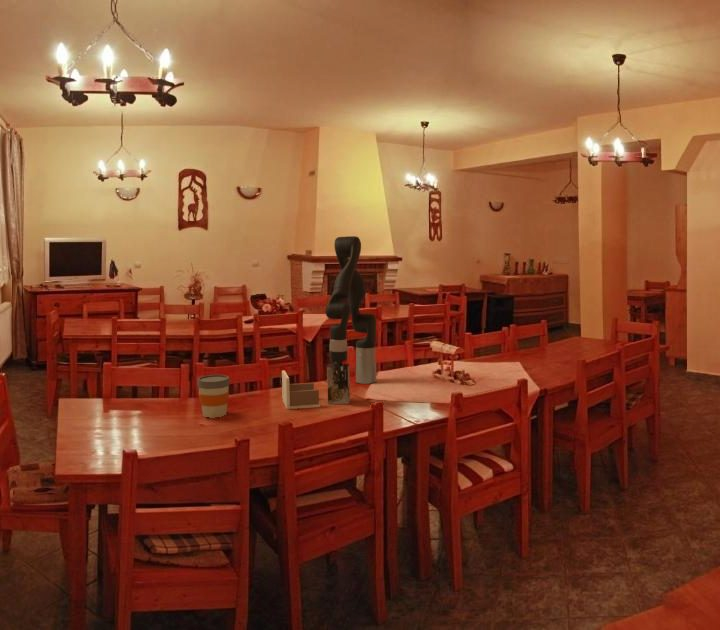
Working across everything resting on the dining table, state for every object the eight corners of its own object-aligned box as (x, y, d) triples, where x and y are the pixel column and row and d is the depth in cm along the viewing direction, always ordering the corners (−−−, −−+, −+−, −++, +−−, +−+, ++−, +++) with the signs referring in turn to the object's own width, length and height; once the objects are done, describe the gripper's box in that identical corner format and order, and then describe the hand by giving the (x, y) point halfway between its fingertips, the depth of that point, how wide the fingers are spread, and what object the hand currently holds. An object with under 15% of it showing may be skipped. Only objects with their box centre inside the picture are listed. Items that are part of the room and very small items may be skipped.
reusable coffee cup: (217, 408, 263) (216, 373, 261) (237, 414, 255) (236, 377, 253) (192, 415, 254) (190, 378, 251) (211, 421, 246) (210, 383, 244)
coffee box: (350, 400, 275) (350, 363, 273) (348, 404, 269) (348, 367, 267) (329, 399, 276) (329, 363, 274) (327, 403, 270) (326, 366, 268)
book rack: (314, 397, 279) (313, 368, 278) (320, 406, 265) (320, 376, 263) (282, 399, 276) (281, 370, 274) (286, 409, 262) (286, 378, 260)
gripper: (350, 352, 263) (351, 390, 266) (343, 345, 277) (343, 382, 279) (333, 352, 262) (333, 391, 264) (326, 346, 275) (326, 383, 278)
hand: (338, 387), depth 272 cm, fingers closed on coffee box, 7 cm apart
